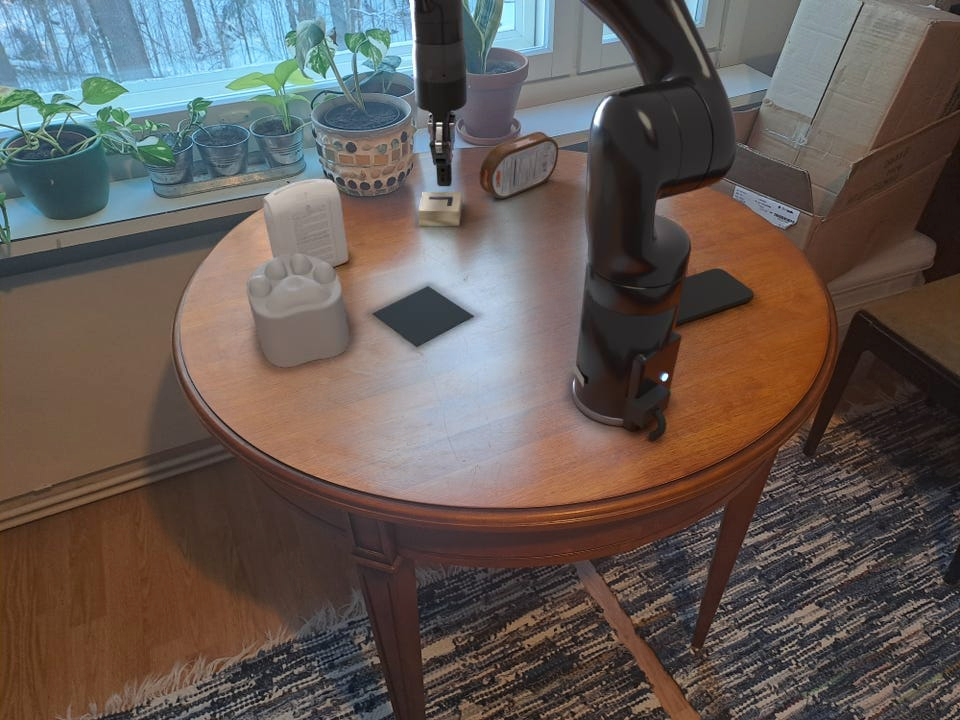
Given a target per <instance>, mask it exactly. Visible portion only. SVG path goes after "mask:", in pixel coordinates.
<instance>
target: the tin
mask: <svg viewBox="0 0 960 720" xmlns="http://www.w3.org/2000/svg"><path fill="white" fill-rule="evenodd" d="M558 159H559V145H558V143H557V142H556V140H555V139H553V138H552V137H551V136H548V135H547V134H546V133H545V132H542V131H535V132H532V133H529V134H526V135H523V136H520V137H517V138H514V139H511V140H508V141H505V142H502V143H499V144H497V145H496V146H495V147H493V148H492V149H490V151H489V152H488V153H487V155H486V156H485V157H484V159H483V162H482V163H481V166H480V170H479V184H480V186H481V187H480V188H482V191H484V192H485V193H487V194H490V195H491V196H493V197H495V198H496V199H507V198H510V197H512V196H515V195H517V194H520V193H523V192H525V191H528V190H530V189H533V188H536V187H538V186H541V185H543V184H544V183H546V181H547V180H549V178H550V177H551V176H552V174H553V173H554V171H555V169H556V167H557V163H558Z"/></svg>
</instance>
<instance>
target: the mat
mask: <svg viewBox="0 0 960 720" xmlns="http://www.w3.org/2000/svg"><path fill="white" fill-rule="evenodd" d="M372 315H373V316H374V317H376V318H377V319H379V320H380V321H381V322H383V323H384V324H385V325H387V326H388V328H390V329H392V330H393V331H395V332H396V333H397V334H399V335H400V336H401V337H403V338H404V339H406V340H407V341H408V342H410V343H411V344H412V345H414V346H415V347H420V346H421V345H423V344H425V343H427V342H428V341H429V342H430V341H431V340H432V339H434V338H437V337H438V336H440V335H441V334H443V333H445V332H447V331H449V330H452V329H453V328H454V327H457V326H458V325H460V324H462V323H463V322H465V321H467V320H469V319H471V318H473V317H474V314H472V313H470V312H469V311H468V310H466V309H464V308H463V307H461V306H460V305H458V304H457V303H455V302H454V301H452V300H451V299H449V298H447V297H446V296H444V295H442V294H441V293H440V292H439V291H436V290H435V289H434V288H432V287H430V285H427V286H425V287H423V288H421V289H419V290H416V291H415V292H413V293H411V294H409V295H406V296H405V297H403V298H400V299H398V300H396V301H394V302H393V303H390V304H388V305H387V306H384V307H381V308H380V309H378V310H376V311H374V312H372Z"/></svg>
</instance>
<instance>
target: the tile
mask: <svg viewBox="0 0 960 720" xmlns="http://www.w3.org/2000/svg"><path fill="white" fill-rule="evenodd" d="M462 196H463V193H462V192H450V191H449V192H448V191H447V192H443V191H442V192H441V191H438V192H437V191H422V194H421V198H420V202H419V207H418V211H417V212H418V224H419V226H420V227H421V226H422V227H423V226H426V227H427V226H428V227H460V223H461V218H462V209H463V197H462Z"/></svg>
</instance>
